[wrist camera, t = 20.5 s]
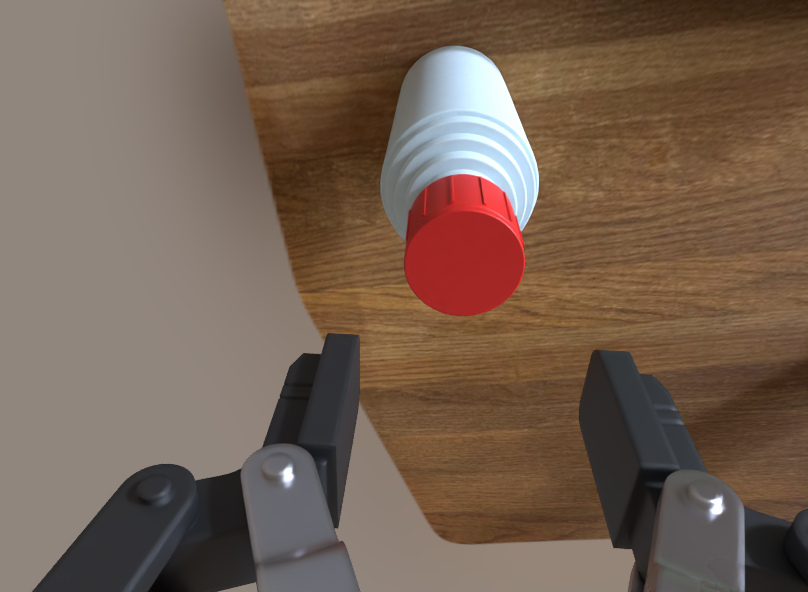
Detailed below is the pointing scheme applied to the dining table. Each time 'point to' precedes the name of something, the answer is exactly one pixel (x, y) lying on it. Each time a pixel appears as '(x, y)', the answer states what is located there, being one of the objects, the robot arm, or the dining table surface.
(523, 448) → the dining table surface
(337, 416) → the robot arm
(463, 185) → the cap
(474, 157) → the bottle
